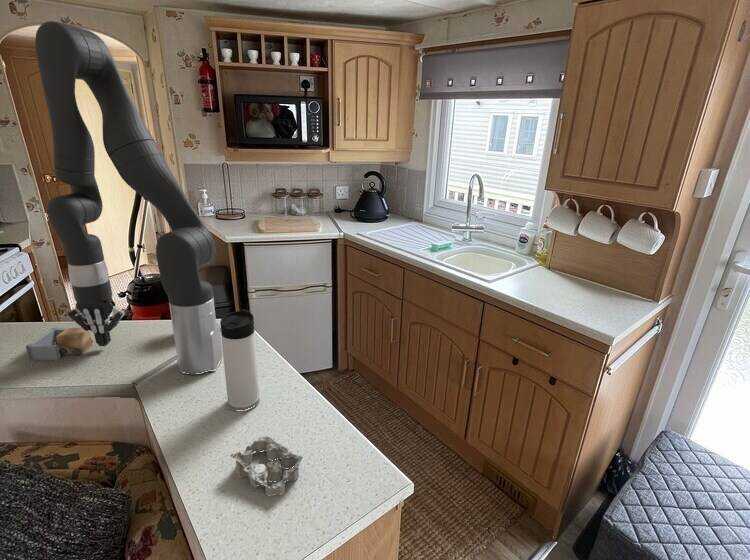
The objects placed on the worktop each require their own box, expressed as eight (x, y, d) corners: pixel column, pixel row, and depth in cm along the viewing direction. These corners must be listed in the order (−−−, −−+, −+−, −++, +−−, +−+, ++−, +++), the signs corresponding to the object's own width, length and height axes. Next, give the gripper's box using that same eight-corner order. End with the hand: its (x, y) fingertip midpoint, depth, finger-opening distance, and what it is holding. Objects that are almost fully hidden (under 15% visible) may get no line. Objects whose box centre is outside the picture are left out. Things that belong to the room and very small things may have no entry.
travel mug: (265, 395, 90) (260, 311, 83) (249, 415, 84) (242, 326, 77) (240, 390, 91) (232, 307, 84) (221, 408, 85) (212, 320, 78)
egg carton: (228, 473, 70) (226, 453, 69) (263, 446, 76) (261, 428, 75) (273, 504, 65) (272, 484, 64) (306, 474, 71) (306, 455, 69)
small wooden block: (94, 344, 107) (90, 327, 105) (80, 356, 101) (76, 338, 100) (73, 344, 106) (69, 326, 105) (59, 355, 101) (54, 337, 99)
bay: (82, 340, 108) (79, 328, 107) (57, 359, 99) (54, 346, 98) (56, 339, 108) (53, 327, 107) (29, 359, 99) (25, 346, 98)
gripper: (127, 274, 101) (138, 337, 107) (71, 273, 101) (85, 336, 107) (110, 286, 94) (123, 353, 100) (49, 284, 94) (66, 352, 100)
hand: (104, 344), depth 104 cm, fingers closed
